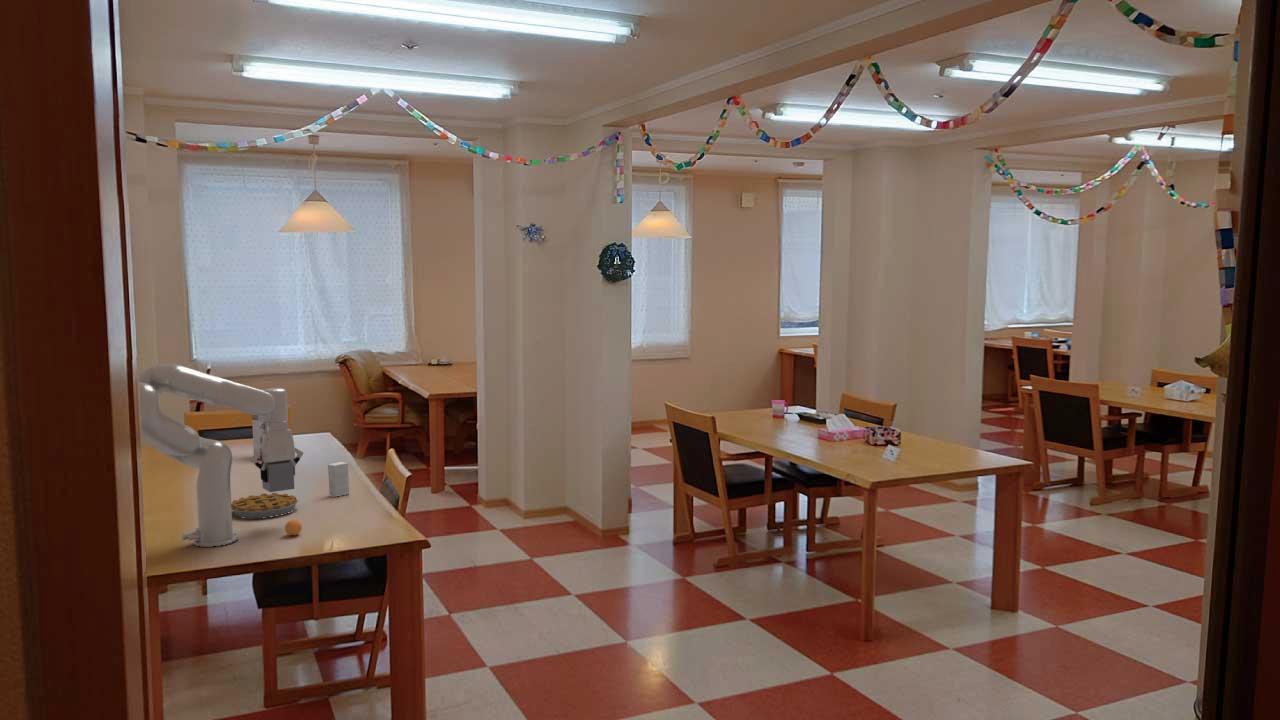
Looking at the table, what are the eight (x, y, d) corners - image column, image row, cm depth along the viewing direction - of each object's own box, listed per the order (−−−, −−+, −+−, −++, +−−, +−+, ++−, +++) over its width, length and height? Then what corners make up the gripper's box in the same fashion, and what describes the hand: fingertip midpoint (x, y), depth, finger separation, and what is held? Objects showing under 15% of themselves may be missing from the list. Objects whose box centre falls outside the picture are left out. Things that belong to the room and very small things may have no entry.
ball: (288, 538, 295) (287, 522, 295) (283, 534, 299) (282, 519, 299) (304, 535, 298) (303, 520, 298) (299, 532, 302) (298, 516, 302)
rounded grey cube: (270, 492, 303) (268, 465, 302) (262, 488, 309) (261, 461, 308) (294, 488, 308) (293, 462, 307) (286, 484, 314) (285, 458, 313)
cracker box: (285, 459, 417) (283, 412, 415) (273, 462, 412) (271, 414, 410) (265, 456, 425) (263, 410, 423) (253, 459, 420) (251, 412, 418)
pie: (221, 511, 329) (221, 497, 329) (285, 501, 343) (284, 488, 343) (242, 524, 313) (241, 509, 312) (307, 513, 327) (307, 499, 326)
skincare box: (343, 492, 355) (341, 461, 354) (349, 494, 352) (348, 462, 351) (328, 495, 351) (327, 464, 349) (335, 497, 348) (334, 465, 347)
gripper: (251, 430, 298) (253, 485, 300) (306, 424, 309) (309, 478, 310) (244, 427, 304) (246, 481, 305) (299, 422, 314) (301, 474, 316)
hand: (278, 479), depth 308 cm, fingers closed on rounded grey cube, 7 cm apart
